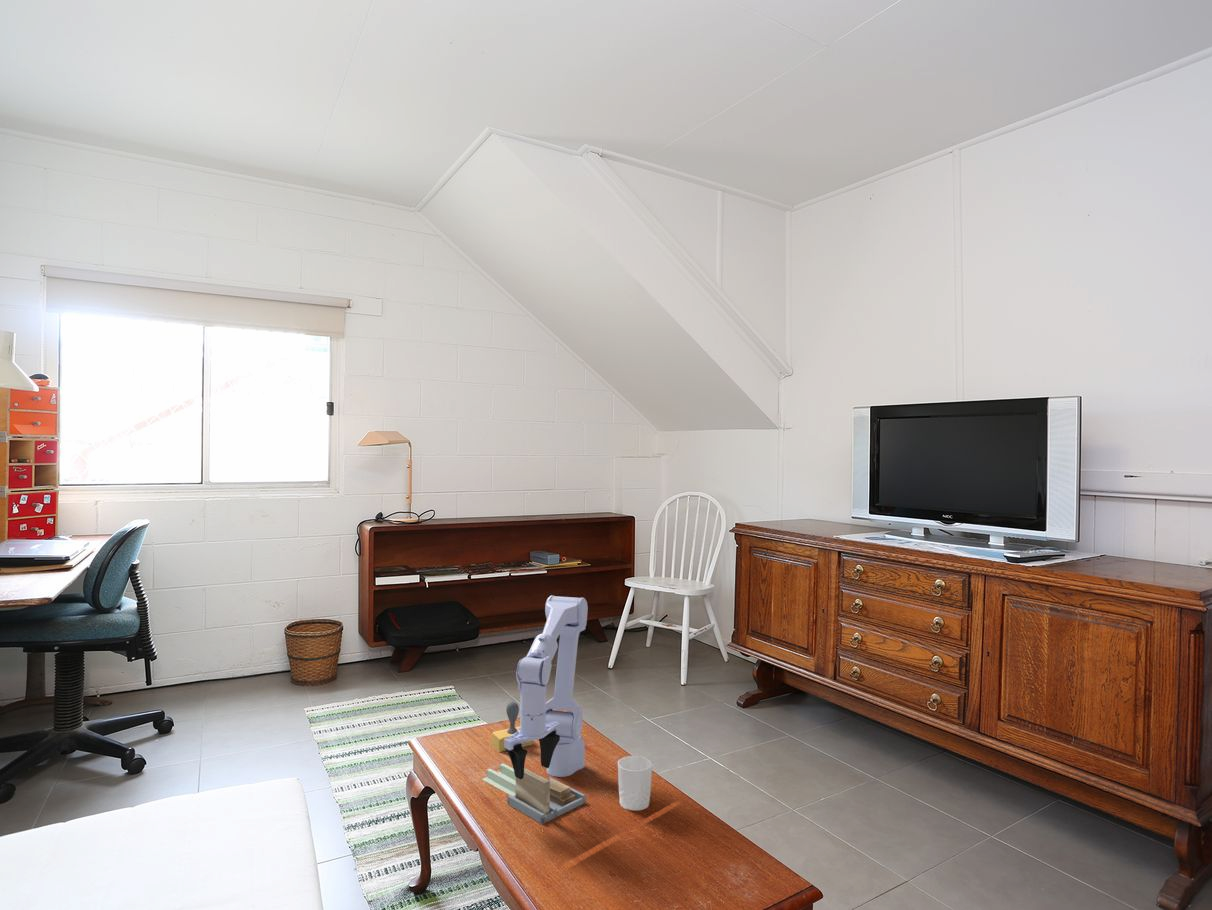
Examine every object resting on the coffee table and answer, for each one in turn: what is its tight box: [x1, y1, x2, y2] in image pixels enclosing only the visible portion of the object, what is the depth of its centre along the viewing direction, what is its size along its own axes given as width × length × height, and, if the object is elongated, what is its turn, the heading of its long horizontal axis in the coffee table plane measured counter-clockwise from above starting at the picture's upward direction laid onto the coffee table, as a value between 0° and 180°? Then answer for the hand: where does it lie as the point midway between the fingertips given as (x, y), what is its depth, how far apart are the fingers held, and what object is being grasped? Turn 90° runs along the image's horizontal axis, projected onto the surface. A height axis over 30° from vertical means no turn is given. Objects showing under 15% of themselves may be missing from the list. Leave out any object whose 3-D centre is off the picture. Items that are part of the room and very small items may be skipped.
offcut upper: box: [549, 779, 571, 798], centre depth 165 cm, size 3×6×1 cm, turn 52°
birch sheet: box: [516, 767, 550, 815], centre depth 159 cm, size 2×10×8 cm, turn 46°
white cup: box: [617, 755, 653, 811], centre depth 163 cm, size 8×8×10 cm
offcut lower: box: [550, 793, 575, 807], centre depth 165 cm, size 4×8×1 cm, turn 46°
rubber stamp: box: [491, 701, 534, 753], centre depth 196 cm, size 10×6×12 cm, turn 121°
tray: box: [507, 777, 586, 825], centre depth 162 cm, size 13×12×3 cm
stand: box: [481, 763, 516, 796], centre depth 172 cm, size 8×12×3 cm, turn 46°
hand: (532, 771), depth 159 cm, fingers open, 7 cm apart
